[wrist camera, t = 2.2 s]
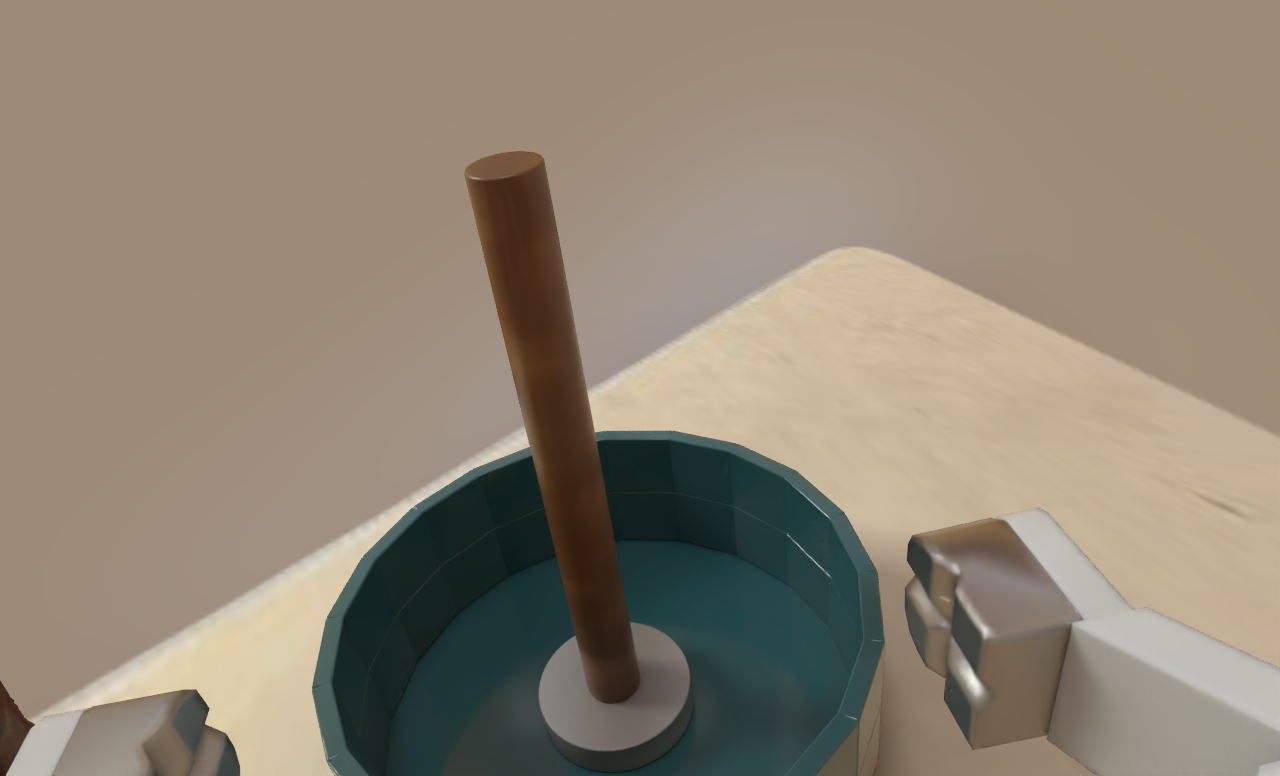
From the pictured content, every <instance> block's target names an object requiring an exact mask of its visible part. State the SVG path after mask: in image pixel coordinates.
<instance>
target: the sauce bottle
mask: <svg viewBox="0 0 1280 776" xmlns="http://www.w3.org/2000/svg"><path fill="white" fill-rule="evenodd" d="M33 726H35V724H34V723H32V722H30V721H28V720H27V719H26V718H24V716H23V715H22V713H21V711H20V710H19V708H18V706H17V705H16V704H14V700H13V699H12V698H11V697H10V696H9V694H8V692H7V691H6V689H5V687H4V686H3V684H2V683H1V681H0V776H6V774H7V772H8V770H9V768H10V767H11V765H12V763H13V761H14V759H15V757H16V755H17V753H18V751H19V750H20V748H21V746H22V744H23V742H24V740H25V738H26V736H27V734H28V733H29V731H30V729H31V728H32V727H33Z"/></svg>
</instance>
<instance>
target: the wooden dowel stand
mask: <svg viewBox="0 0 1280 776" xmlns="http://www.w3.org/2000/svg"><path fill="white" fill-rule="evenodd" d="M465 179H466V183H467V187H468V191H469V195H470V200H471V204H472V208H473V212H474V216H475V220H476V224H477V229H478V232H479V237H480V241H481V245H482V249H483V253H484V257H485V262H486V265H487V270H488V274H489V278H490V283H491V287H492V290H493V295H494V299H495V303H496V308H497V312H498V316H499V320H500V324H501V328H502V332H503V337H504V341H505V345H506V349H507V353H508V357H509V362H510V366H511V370H512V374H513V378H514V382H515V386H516V391H517V394H518V399H519V403H520V407H521V411H522V415H523V420H524V424H525V428H526V432H527V436H528V440H529V445H530V449H531V453H532V457H533V461H534V465H535V470H536V474H537V478H538V482H539V486H540V490H541V494H542V499H543V503H544V507H545V511H546V515H547V519H548V524H549V528H550V532H551V536H552V540H553V544H554V548H555V553H556V557H557V561H558V565H559V569H560V573H561V578H562V582H563V586H564V590H565V594H566V598H567V602H568V607H569V611H570V615H571V619H572V623H573V627H574V632H575V636H574V637H572V638H571V639H569V640H568V641H567V642H565V643H564V644H563V645H562V646H561V647H560V648H559V649H558V650H557V651H556V652H555V653H554V655H553V656H552V657H551V659H550V660H549V662H548V663H547V665H546V667H545V669H544V671H543V674H542V677H541V680H540V685H539V705H540V709H541V713H542V716H543V719H544V723H545V726H546V729H547V732H548V735H549V737H550V739H551V741H552V743H553V744H554V746H555V747H556V748H557V750H558V751H559V752H560V753H561V754H562V755H563V756H565V757H566V758H567V759H569V760H570V761H571V762H573V763H575V764H577V765H579V766H581V767H584V768H587V769H590V770H594V771H599V772H622V771H629V770H633V769H636V768H640V767H642V766H644V765H647V764H649V763H651V762H653V761H655V760H656V759H658V758H660V757H661V756H662V755H664V754H665V753H666V752H668V751H669V750H670V749H671V748H672V747H673V746H674V745H675V744H676V743H677V741H678V740H679V739H680V738H681V736H682V734H683V733H684V731H685V730H686V728H687V725H688V723H689V721H690V718H691V714H692V709H693V690H692V682H691V675H690V669H689V665H688V662H687V659H686V657H685V655H684V653H683V651H682V650H681V649H680V647H679V646H678V645H677V644H676V643H675V642H674V641H673V640H672V639H671V638H670V637H669V636H667V635H666V634H665V633H663V632H661V631H659V630H658V629H655V628H653V627H650V626H647V625H644V624H640V623H633V622H630V619H629V614H628V608H627V603H626V598H625V592H624V587H623V581H622V576H621V571H620V565H619V560H618V555H617V549H616V544H615V538H614V533H613V528H612V522H611V517H610V512H609V506H608V501H607V495H606V490H605V485H604V479H603V474H602V469H601V463H600V458H599V452H598V447H597V442H596V436H595V431H594V426H593V420H592V415H591V409H590V404H589V399H588V393H587V388H586V383H585V377H584V373H583V367H582V361H581V356H580V350H579V345H578V340H577V334H576V329H575V324H574V318H573V313H572V307H571V302H570V296H569V291H568V286H567V281H566V275H565V270H564V264H563V259H562V254H561V248H560V243H559V237H558V232H557V227H556V221H555V216H554V211H553V205H552V200H551V195H550V189H549V184H548V178H547V173H546V168H545V162H544V159H543V157H542V156H541V155H539V154H537V153H533V152H523V151H517V152H507V153H500V154H495V155H492V156H488V157H485V158H482V159H480V160H478V161H476V162H474V163H472V164H470V165H469V166H468V167H467V168H466V169H465Z"/></svg>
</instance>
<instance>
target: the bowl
mask: <svg viewBox="0 0 1280 776" xmlns="http://www.w3.org/2000/svg"><path fill="white" fill-rule="evenodd" d="M595 436H596V442H597V447H598V452H599V458H600V463H601V469H602V474H603V479H604V485H605V490H606V495H607V501H608V506H609V512H610V517H611V522H612V528H613V533H614V538H615V544H616V549H617V555H618V560H619V565H620V571H621V576H622V581H623V587H624V592H625V598H626V603H627V608H628V614H629V619H630V622H633V623H640V624H644V625H647V626H650V627H653V628H655V629H658V630H659V631H661V632H663V633H665V634H666V635H667V636H669V637H670V638H671V639H672V640H673V641H674V642H675V643H676V644H677V645H678V646H679V647H680V649H681V650H682V651H683V653H684V655H685V657H686V659H687V662H688V665H689V669H690V675H691V682H692V690H693V709H692V714H691V718H690V721H689V723H688V725H687V728H686V730H685V731H684V733H683V734H682V736H681V738H680V739H679V740H678V741H677V743H676V744H675V745H674V746H673V747H672V748H671V749H670V750H669V751H668V752H666V753H665V754H664V755H662V756H661V757H660V758H658V759H656V760H655V761H653V762H651V763H649V764H647V765H644V766H642V767H640V768H636V769H633V770H629V771H622V772H599V771H594V770H590V769H587V768H584V767H581V766H579V765H577V764H575V763H573V762H571V761H570V760H569V759H567V758H566V757H565V756H563V755H562V754H561V753H560V752H559V751H558V750H557V748H556V747H555V746H554V744H553V743H552V741H551V739H550V737H549V735H548V732H547V729H546V726H545V723H544V719H543V716H542V713H541V709H540V705H539V685H540V680H541V677H542V674H543V671H544V669H545V667H546V665H547V663H548V662H549V660H550V659H551V657H552V656H553V655H554V653H555V652H556V651H557V650H558V649H559V648H560V647H561V646H562V645H563V644H564V643H565V642H567V641H568V640H569V639H571V638H572V637H574V636H575V632H574V627H573V623H572V619H571V615H570V611H569V607H568V602H567V598H566V594H565V590H564V586H563V582H562V578H561V573H560V569H559V565H558V561H557V557H556V553H555V548H554V544H553V540H552V536H551V532H550V528H549V524H548V519H547V515H546V511H545V507H544V503H543V499H542V494H541V490H540V486H539V482H538V478H537V474H536V470H535V465H534V461H533V457H532V453H531V449H530V447H528V448H526V449H523V450H521V451H518V452H516V453H513V454H510V455H508V456H505V457H503V458H500V459H498V460H495V461H492V462H490V463H487V464H485V465H482V466H480V467H477V468H475V469H473V470H471V471H469V472H468V473H466V474H464V475H463V476H461V477H460V478H458V479H457V480H455V481H453V482H452V483H450V484H449V485H447V486H445V487H444V488H442V489H441V490H439V491H438V492H436V493H434V494H433V495H431V496H430V497H428V498H427V499H425V500H423V501H422V502H420V503H419V504H417V505H415V506H414V508H411V509H410V510H409V511H408V512H407V513H406V514H405V515H404V516H403V517H402V518H401V519H400V520H399V521H398V522H397V523H396V524H395V525H394V526H393V527H392V528H391V529H390V530H389V531H388V532H387V533H386V534H385V535H384V536H383V537H382V538H381V539H380V540H379V541H378V542H377V543H376V544H375V545H374V546H373V547H372V548H371V549H370V550H369V551H368V552H367V553H366V554H365V555H364V556H363V558H362V559H361V560H360V562H359V564H358V565H357V567H356V569H355V570H354V572H353V574H352V575H351V577H350V579H349V581H348V582H347V584H346V586H345V587H344V589H343V591H342V593H341V594H340V596H339V598H338V599H337V601H336V603H335V604H334V606H333V608H332V610H331V611H330V613H329V615H328V616H327V619H326V622H325V627H324V632H323V637H322V642H321V647H320V652H319V656H318V661H317V666H316V671H315V676H314V681H313V686H312V694H313V699H314V703H315V708H316V713H317V718H318V722H319V727H320V732H321V737H322V742H323V746H324V751H325V756H326V761H327V763H328V765H329V767H330V769H331V771H332V773H333V775H334V776H873V773H874V770H875V766H876V763H877V759H878V753H879V735H880V717H881V699H882V682H883V664H884V646H885V639H884V630H883V620H882V610H881V600H880V591H879V581H878V573H877V570H876V569H875V567H874V565H873V563H872V561H871V560H870V558H869V556H868V554H867V552H866V550H865V549H864V547H863V545H862V543H861V541H860V540H859V538H858V536H857V534H856V532H855V531H854V529H853V527H852V525H851V523H850V522H849V520H848V518H847V516H846V515H845V513H844V512H843V511H842V510H841V509H840V508H839V507H837V506H836V505H835V504H834V503H833V502H832V501H830V500H829V499H828V498H827V497H826V496H825V495H824V494H822V493H821V492H820V491H819V490H818V489H817V488H816V487H814V486H813V485H812V484H811V483H810V482H809V481H808V480H806V479H805V478H804V477H803V476H802V475H801V474H799V473H798V472H797V471H795V470H793V469H791V468H789V467H787V466H785V465H783V464H780V463H778V462H776V461H774V460H772V459H770V458H767V457H765V456H763V455H761V454H759V453H757V452H754V451H752V450H750V449H748V448H746V447H744V446H741V445H739V444H736V443H731V442H726V441H721V440H716V439H711V438H706V437H701V436H696V435H691V434H686V433H681V432H676V431H606V432H605V431H602V432H597V433H595Z"/></svg>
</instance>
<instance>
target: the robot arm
mask: <svg viewBox="0 0 1280 776" xmlns="http://www.w3.org/2000/svg"><path fill="white" fill-rule="evenodd" d="M907 561H908V563H909V565H910V566H911V568H912V570H913V571H914V573H915V576H914V577H913V579H912V580H911V581H910V582H909V584H908V585H907V586H906V587H905V611H906V616H907V621H908V626H909V631H910V633H911V636H912V638H913V641H914V644H915V646H916V649H917V651H918V652H919V654H920V656H921V658H922V660H923V662H924V664H925V666H926V667H927V668H929V669H931V670H932V671H934V672H936V673H937V674H939V675H941V676H942V677H944V678H946V683H945V693H944V700H945V702H946V704H947V706H948V707H949V709H950V711H951V713H952V715H953V716H954V718H955V720H956V722H957V723H958V725H959V727H960V729H961V731H962V732H963V734H964V736H965V738H966V740H967V741H968V743H969V745H970V747H971V748H972V750H975V749H980V748H986V747H991V746H996V745H1001V744H1006V743H1011V742H1016V741H1021V740H1026V739H1031V738H1036V737H1041V736H1046V735H1048V737H1047V740H1049V741H1050V742H1051V743H1053V744H1054V745H1055V746H1057V747H1058V748H1060V749H1061V750H1062V751H1064V752H1065V753H1066V754H1068V755H1069V756H1071V757H1072V758H1073V759H1075V760H1076V761H1077V762H1079V763H1080V764H1082V765H1083V766H1084V767H1086V768H1087V769H1088V770H1090V771H1091V772H1093V773H1094V774H1095V775H1097V776H1280V668H1279V667H1277V666H1274V665H1272V664H1270V663H1268V662H1266V661H1263V660H1261V659H1259V658H1257V657H1255V656H1253V655H1250V654H1248V653H1246V652H1244V651H1242V650H1240V649H1237V648H1235V647H1233V646H1231V645H1229V644H1226V643H1224V642H1222V641H1220V640H1218V639H1216V638H1213V637H1211V636H1209V635H1207V634H1205V633H1203V632H1200V631H1198V630H1196V629H1194V628H1192V627H1189V626H1187V625H1185V624H1183V623H1181V622H1179V621H1176V620H1174V619H1172V618H1170V617H1168V616H1165V615H1163V614H1161V613H1159V612H1157V611H1155V610H1152V609H1150V608H1148V607H1144V608H1139V609H1133V608H1132V607H1131V606H1130V605H1129V603H1128V602H1127V601H1126V600H1125V599H1124V598H1123V597H1122V596H1121V594H1120V593H1119V592H1118V591H1117V590H1116V589H1115V588H1114V587H1113V585H1112V584H1111V583H1110V582H1109V581H1108V580H1107V579H1106V578H1105V576H1104V575H1103V574H1102V573H1101V572H1100V571H1099V570H1098V568H1097V567H1096V566H1095V565H1094V564H1093V563H1092V562H1091V561H1090V559H1089V558H1088V557H1087V556H1086V555H1085V554H1084V553H1083V552H1082V550H1081V549H1080V548H1079V547H1078V546H1077V545H1076V544H1075V542H1074V541H1073V540H1072V539H1071V538H1070V537H1069V536H1068V535H1067V533H1066V532H1065V531H1064V530H1063V529H1062V528H1061V527H1060V526H1059V524H1058V523H1057V522H1056V521H1055V520H1054V519H1053V518H1052V516H1051V515H1050V514H1049V513H1048V512H1046V511H1044V510H1042V509H1040V508H1034V509H1030V510H1025V511H1021V512H1016V513H1012V514H1007V515H1002V516H998V517H996V518H988V519H983V520H979V521H974V522H970V523H965V524H961V525H956V526H952V527H947V528H943V529H938V530H934V531H929V532H925V533H920V534H916V535H912V537H911V539H910V541H909V543H908V552H907ZM209 709H210V708H209V707H208V705H207V704H206V703H205V701H204V700H203V699H202V697H201V696H200V695H199V693H198V692H197V690H180V691H174V692H169V693H163V694H158V695H153V696H147V697H142V698H137V699H131V700H126V701H120V702H115V703H110V704H104V705H99V706H93V707H92V708H87V709H81V710H76V711H71V712H65V713H60V714H55V715H49V716H45V717H44V718H43V719H42V720H40V721H39V722H38V723H37V724H36V725H35V726H33V727H32V728H31V729H30V731H29V733H28V734H27V736H26V738H25V740H24V742H23V744H22V746H21V748H20V750H19V751H18V753H17V755H16V757H15V759H14V761H13V763H12V765H11V767H10V768H9V770H8V772H7V774H6V776H240V765H239V761H238V758H237V755H236V751H235V748H234V746H233V744H232V743H231V741H230V739H229V738H228V736H227V735H226V733H224V732H221V731H219V730H217V729H214V728H212V727H210V726H208V725H205V721H206V718H207V715H208V712H209Z"/></svg>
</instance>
